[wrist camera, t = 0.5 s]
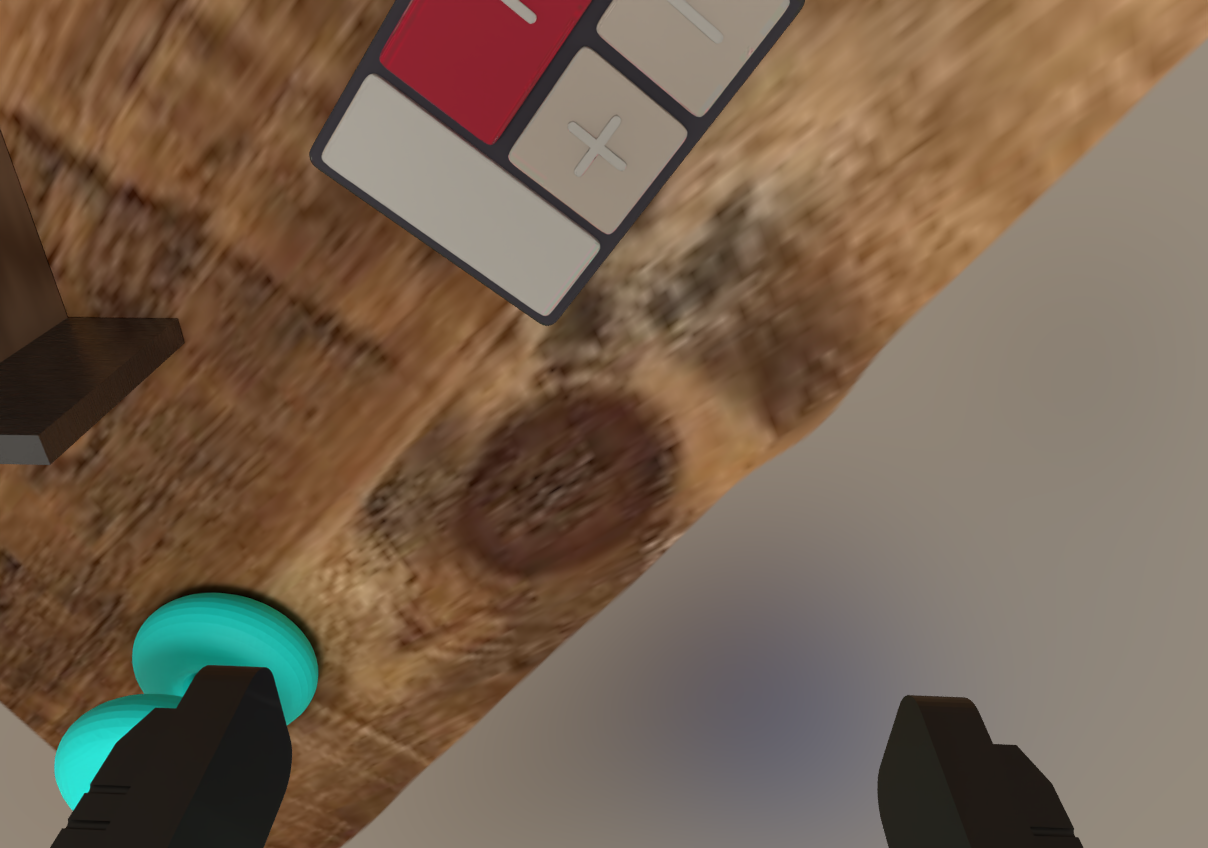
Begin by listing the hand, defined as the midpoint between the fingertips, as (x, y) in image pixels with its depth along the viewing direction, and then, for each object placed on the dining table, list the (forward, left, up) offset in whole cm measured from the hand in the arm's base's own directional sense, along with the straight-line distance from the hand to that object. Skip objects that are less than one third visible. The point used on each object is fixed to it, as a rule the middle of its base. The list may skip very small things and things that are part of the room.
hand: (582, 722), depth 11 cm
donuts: (+26, -22, -27) cm, 43 cm away
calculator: (-4, -2, -27) cm, 27 cm away
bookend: (+7, -23, -26) cm, 35 cm away
